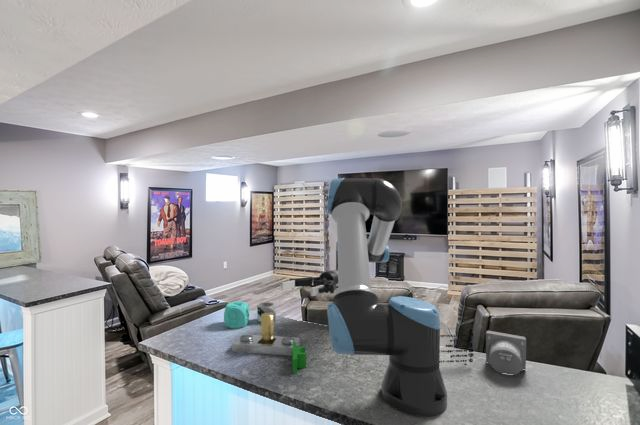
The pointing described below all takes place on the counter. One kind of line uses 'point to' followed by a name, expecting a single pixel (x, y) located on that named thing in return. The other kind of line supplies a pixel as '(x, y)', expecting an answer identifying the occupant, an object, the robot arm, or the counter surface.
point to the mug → (265, 310)
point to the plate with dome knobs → (265, 345)
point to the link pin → (267, 328)
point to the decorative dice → (236, 315)
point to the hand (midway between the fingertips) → (296, 289)
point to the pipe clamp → (298, 357)
